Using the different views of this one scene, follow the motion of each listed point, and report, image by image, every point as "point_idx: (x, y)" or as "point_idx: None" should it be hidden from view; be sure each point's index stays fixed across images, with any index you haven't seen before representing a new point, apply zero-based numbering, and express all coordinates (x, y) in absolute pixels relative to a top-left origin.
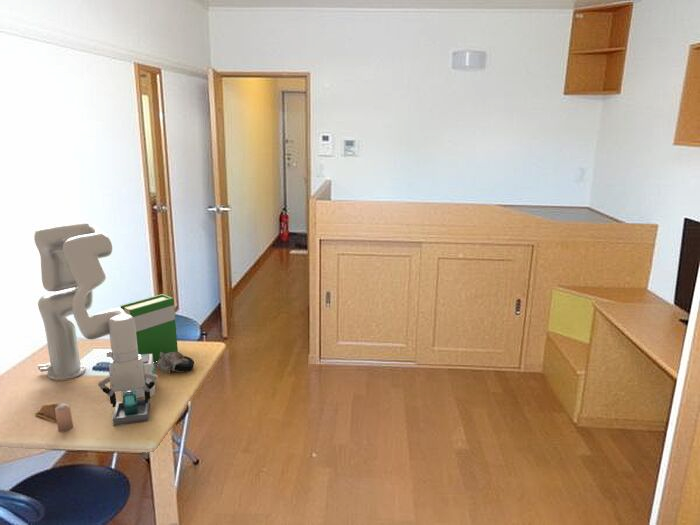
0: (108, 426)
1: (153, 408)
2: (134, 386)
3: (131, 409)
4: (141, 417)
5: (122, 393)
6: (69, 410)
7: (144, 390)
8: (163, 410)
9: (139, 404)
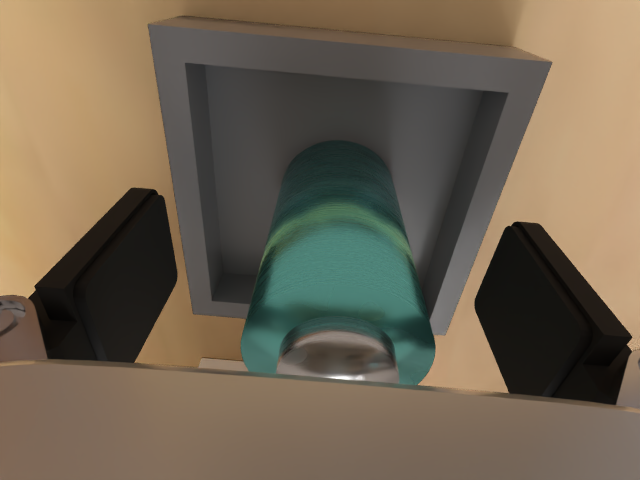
0: (558, 59)
1: (174, 221)
2: (118, 461)
3: (330, 169)
4: (227, 26)
5: None
6: None
7: None
8: (81, 165)
9: None
